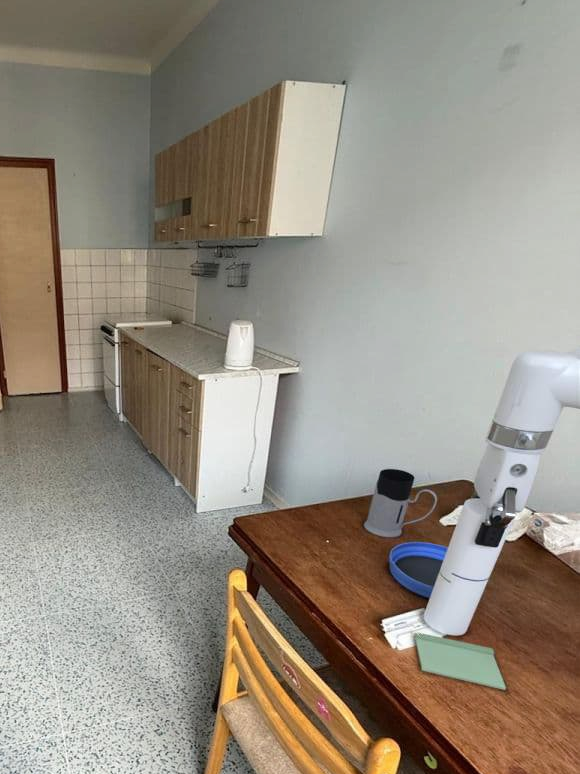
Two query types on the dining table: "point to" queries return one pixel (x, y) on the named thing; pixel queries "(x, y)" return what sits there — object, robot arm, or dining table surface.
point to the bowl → (417, 565)
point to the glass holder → (391, 503)
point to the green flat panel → (458, 660)
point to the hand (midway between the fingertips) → (479, 532)
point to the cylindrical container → (463, 572)
